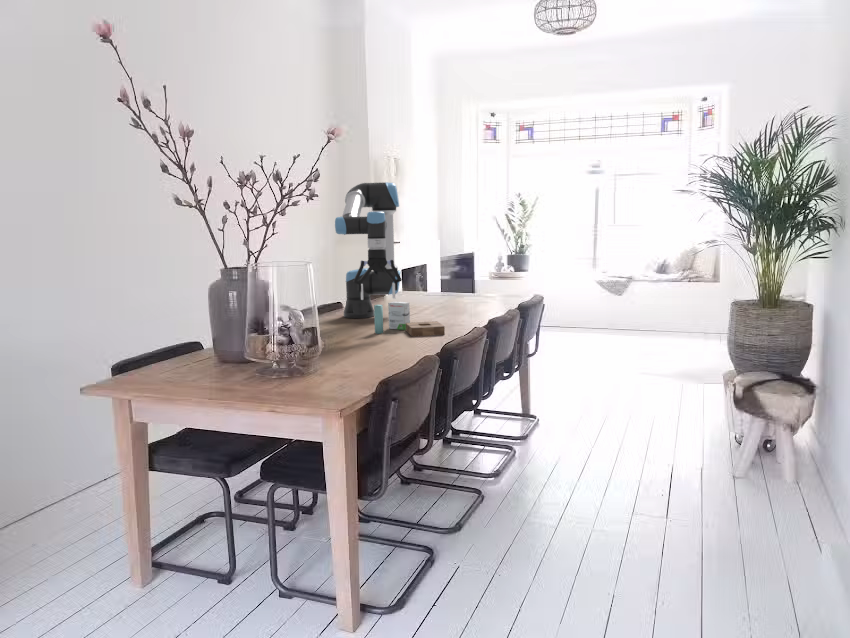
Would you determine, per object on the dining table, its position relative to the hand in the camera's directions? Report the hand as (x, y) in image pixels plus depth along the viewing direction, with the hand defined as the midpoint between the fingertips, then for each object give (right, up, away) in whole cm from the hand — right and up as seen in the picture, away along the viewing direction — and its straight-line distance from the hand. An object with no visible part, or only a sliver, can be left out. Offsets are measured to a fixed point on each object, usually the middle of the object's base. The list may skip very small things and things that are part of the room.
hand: (378, 299), depth 300 cm
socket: (+20, -14, +2) cm, 25 cm away
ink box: (+9, -13, +13) cm, 20 cm away
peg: (0, -15, +3) cm, 15 cm away
